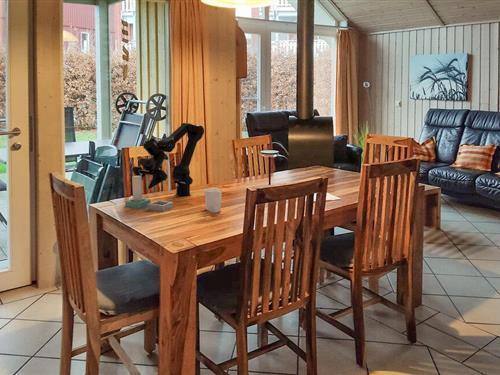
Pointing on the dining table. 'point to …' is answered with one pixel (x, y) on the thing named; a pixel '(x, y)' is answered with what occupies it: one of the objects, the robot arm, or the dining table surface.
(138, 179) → the peg
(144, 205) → the socket board
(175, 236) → the dining table surface
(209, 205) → the white cup
